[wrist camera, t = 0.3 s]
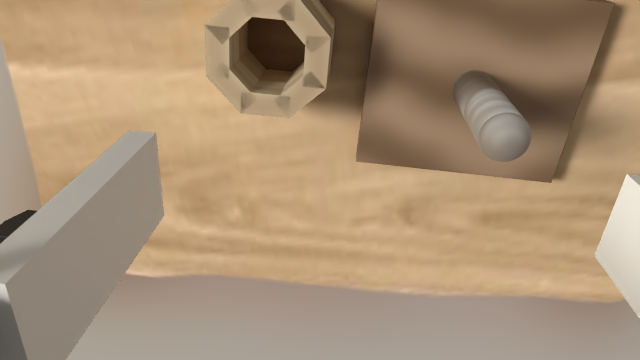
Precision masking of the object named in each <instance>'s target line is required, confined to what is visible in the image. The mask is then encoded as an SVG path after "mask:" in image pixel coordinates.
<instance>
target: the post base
mask: <svg viewBox="0 0 640 360" xmlns="http://www.w3.org/2000/svg"><path fill="white" fill-rule="evenodd" d="M614 4H615V3H612V2H609V1H606V0H377V4H376V11H375V19H374V26H373V34H372V41H371V49H370V56H369V64H368V71H367V79H366V86H365V94H364V101H363V109H362V116H361V124H360V131H359V138H358V146H357V153H356V161H358V162H367V163H376V164H385V165H394V166H403V167H412V168H421V169H430V170H440V171H449V172H458V173H467V174H476V175H485V176H494V177H503V178H512V179H522V180H531V181H540V182H549V183H551V182H552V179H553V176H554V173H555V170H556V168H557V165H558V162H559V159H560V156H561V153H562V151H563V148H564V145H565V142H566V139H567V137H568V134H569V131H570V128H571V125H572V122H573V120H574V117H575V114H576V111H577V108H578V105H579V103H580V100H581V97H582V94H583V91H584V89H585V86H586V83H587V80H588V77H589V74H590V72H591V69H592V66H593V63H594V60H595V58H596V55H597V52H598V49H599V46H600V43H601V41H602V38H603V35H604V32H605V29H606V26H607V24H608V21H609V18H610V15H611V12H612V10H613V7H614Z"/></svg>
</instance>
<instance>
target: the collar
mask: <svg viewBox="0 0 640 360" xmlns="http://www.w3.org/2000/svg"><path fill="white" fill-rule="evenodd" d="M252 17H258V18H268V19H278V20H284V21H285V22H286V23H287V24H288V25H289V27H290V28H291V29H292V30H293V32H294V33H295V34H296V35H297V36H298V38H299V39H300V40H301V41H302V42H303V44H304V45H305V57H304V62H302V63H301V64H300V65H299V66H298V67H296V68H295V69H294V70H293V71H292V72H291V71H281V70H272V69H265V68H264V66H263V65H262V64H261V63H260V62H259V61H258V60H257V59H256V57H255V56H254V55H253V54H252V53H251V52H250V51H249V49H248V21H249V20H250V19H251V18H252ZM334 28H335V20H334V19H333V18H332V16H331V15H330V14H329V12H328V11H327V10H326V9H325V7H324V6H323V5H322V4H321V2H320V1H319V0H230V1H229V2H228V3H227V4H226V5H225V6H224V7H223V8H222V9H221V10H220V11H219V12H218V13H217V14H215V15H214V16H213V17H212V18H211V19H210V20H209V21H208V22H207V23H206V24H205V55H206V77H207V78H208V79H209V80H210V81H211V82H212V83H213V84H214V85H215V86H216V87H217V88H218V89H219V91H220V92H221V93H222V94H223V95H224V96H225V97H226V98H227V99H228V100H229V101H230V102H231V103H232V104H233V106H234V107H235V108H236V109H237V110H238V111H239V112H240V113H243V114H252V115H262V116H271V117H280V118H290V117H291V116H292V115H294V114H295V113H296V112H297V111H299V110H300V109H301V108H303V107H304V106H305V105H306V104H308V103H309V102H310V101H311V100H313V99H314V98H315V97H316V96H318V95H319V94H320V93H321V92H323V91H324V90H325V89H326V86H327V82H328V77H329V72H330V67H331V59H332V49H333V38H334Z"/></svg>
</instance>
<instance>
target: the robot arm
mask: <svg viewBox="0 0 640 360" xmlns="http://www.w3.org/2000/svg"><path fill="white" fill-rule="evenodd" d="M163 216H164V209H163V199H162V189H161V179H160V169H159V159H158V149H157V139H156V133H153V132H142V131H130V130H129V131H128V132H127V133H126V134H125V135H124V136H123V137H121V138H120V139H119V140H118V141H117V142H116V143H115V144H113V145H112V146H111V147H110V148H109V149H108V150H107V151H105V152H104V153H103V154H102V155H101V156H100V157H99V158H97V159H96V160H95V161H94V162H93V163H92V164H91V165H89V166H88V167H87V168H86V169H85V170H84V171H83V172H82V173H80V174H79V175H78V176H77V177H76V178H75V179H74V180H72V181H71V182H70V183H69V184H68V185H67V186H66V187H64V188H63V189H62V190H61V191H60V192H59V193H58V194H56V195H55V196H54V197H53V198H52V199H51V200H50V201H48V202H47V203H46V204H45V205H44V206H43V207H42V208H40V209H39V210H38V211H33V210H27V211H25V212H23V213H21V214H19V215H16V216H14V217H12V218H10V219H8V220H6V221H4V222H3V223H2V224H1V225H0V360H66V359H67V357H68V356H69V354H70V353H71V351H72V350H73V348H74V347H75V346H76V344H77V343H78V341H79V340H80V338H81V337H82V335H83V334H84V332H85V331H86V329H87V328H88V326H89V325H90V324H91V322H92V321H93V319H94V318H95V316H96V315H97V313H98V312H99V310H100V309H101V307H102V306H103V304H104V303H105V301H106V300H107V298H108V297H109V295H110V294H111V293H112V291H113V290H114V288H115V287H116V285H117V284H118V282H119V281H120V279H121V278H122V277H123V275H124V274H125V272H126V271H127V269H128V268H129V266H130V265H131V263H132V262H133V260H134V259H135V258H136V256H137V255H138V253H139V252H140V250H141V249H142V247H143V246H144V244H145V243H146V241H147V240H148V238H149V237H150V236H151V234H152V233H153V231H154V230H155V228H156V227H157V225H158V224H159V222H160V221H161V219H162V218H163ZM595 257H596V259H597V260H598V261H599V263H600V264H601V266H602V267H603V268H604V270H605V271H606V273H607V274H608V275H609V277H610V278H611V280H612V281H613V282H614V284H615V285H616V287H617V288H618V289H619V291H620V292H621V294H622V295H623V296H624V298H625V299H626V301H627V302H628V303H629V305H630V306H631V308H632V309H633V310H634V312H635V313H636V315H637V316H638V317H639V319H640V175H633V174H627V175H626V178H625V180H624V183H623V185H622V188H621V190H620V193H619V195H618V198H617V200H616V203H615V205H614V208H613V210H612V213H611V215H610V218H609V220H608V223H607V225H606V228H605V230H604V233H603V235H602V238H601V240H600V243H599V245H598V248H597V251H596V253H595Z"/></svg>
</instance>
